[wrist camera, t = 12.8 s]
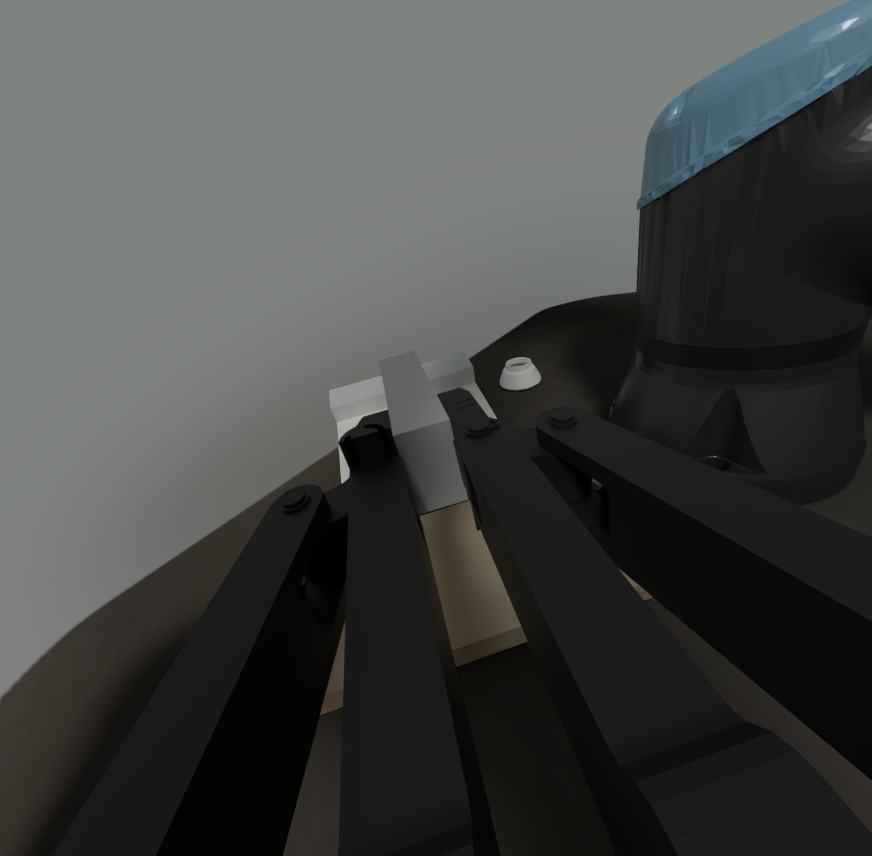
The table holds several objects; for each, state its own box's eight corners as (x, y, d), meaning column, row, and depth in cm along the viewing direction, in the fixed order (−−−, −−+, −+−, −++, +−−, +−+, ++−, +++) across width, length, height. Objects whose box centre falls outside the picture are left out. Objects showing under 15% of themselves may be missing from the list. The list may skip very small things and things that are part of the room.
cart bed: (565, 465, 30) (562, 418, 28) (681, 587, 19) (692, 527, 17) (306, 547, 28) (282, 505, 26) (278, 729, 18) (234, 684, 16)
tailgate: (521, 469, 28) (467, 375, 39) (521, 443, 26) (463, 351, 37) (349, 524, 27) (339, 413, 38) (335, 501, 25) (329, 390, 36)
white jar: (546, 376, 46) (509, 375, 49) (544, 354, 44) (506, 354, 47) (532, 394, 42) (494, 391, 45) (530, 371, 41) (490, 370, 44)
